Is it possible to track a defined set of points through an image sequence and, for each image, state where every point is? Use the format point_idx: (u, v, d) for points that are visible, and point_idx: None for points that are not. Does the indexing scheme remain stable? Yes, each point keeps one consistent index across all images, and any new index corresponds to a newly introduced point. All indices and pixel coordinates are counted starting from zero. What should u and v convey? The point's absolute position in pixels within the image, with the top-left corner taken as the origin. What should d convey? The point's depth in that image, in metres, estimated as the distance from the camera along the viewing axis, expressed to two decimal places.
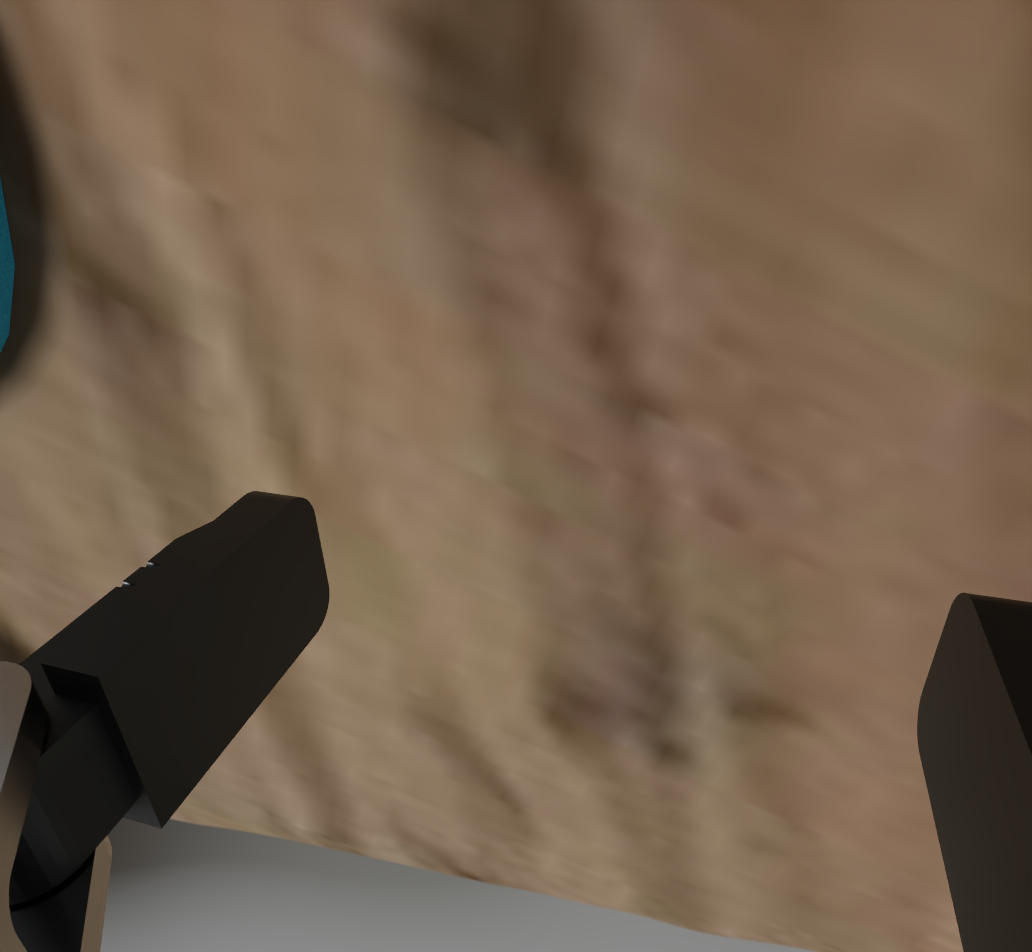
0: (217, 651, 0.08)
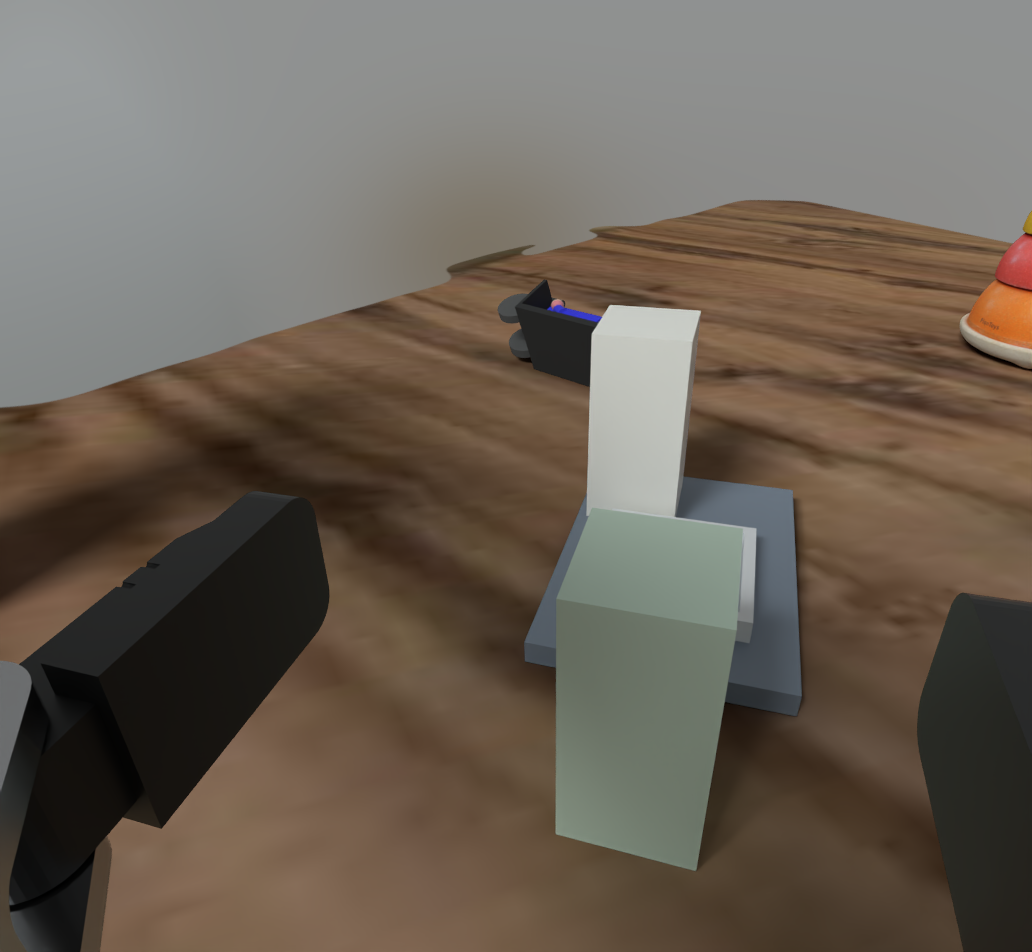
0: (217, 651, 0.08)
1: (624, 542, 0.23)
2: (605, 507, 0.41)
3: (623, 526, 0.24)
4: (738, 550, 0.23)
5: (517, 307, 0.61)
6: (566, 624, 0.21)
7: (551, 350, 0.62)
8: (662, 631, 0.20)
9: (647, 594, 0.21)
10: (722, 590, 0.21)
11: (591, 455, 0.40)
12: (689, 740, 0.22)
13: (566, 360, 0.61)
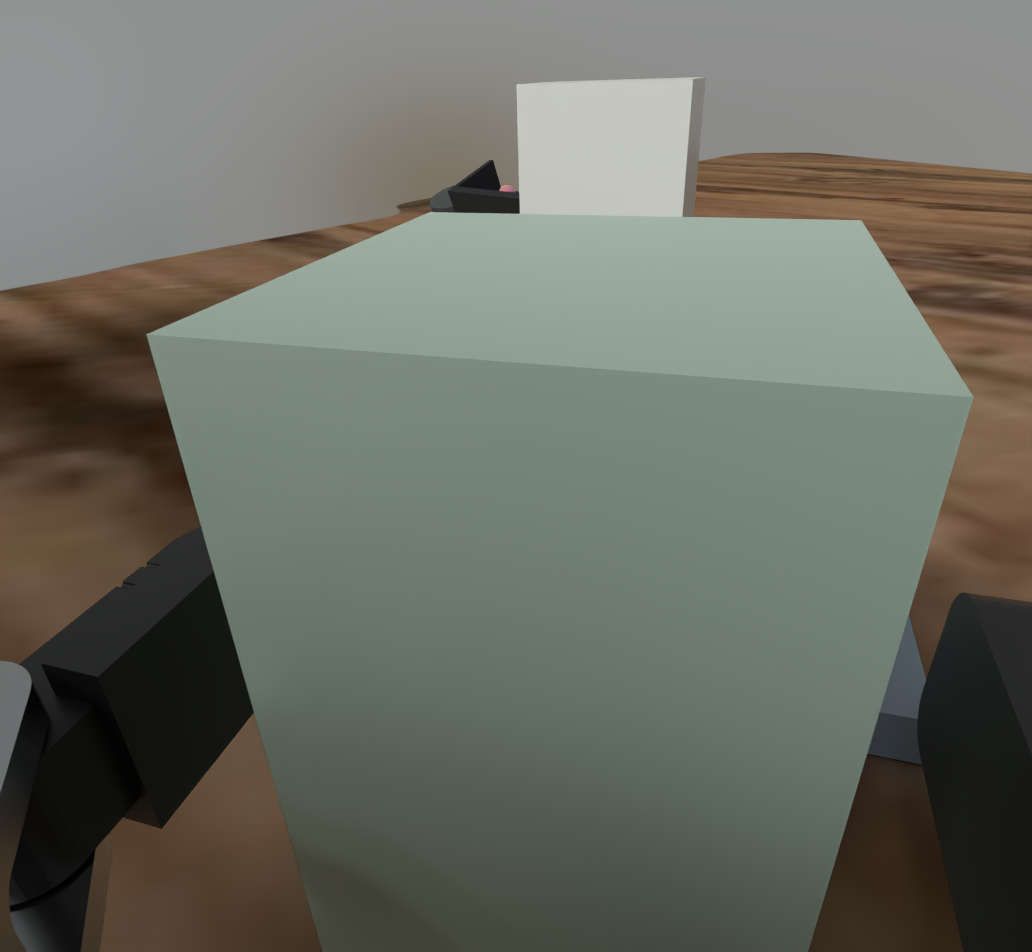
0: (217, 651, 0.08)
1: (494, 243, 0.07)
2: None
3: (502, 227, 0.08)
4: (865, 244, 0.07)
5: (450, 191, 0.45)
6: (215, 457, 0.05)
7: None
8: (587, 449, 0.04)
9: (531, 316, 0.05)
10: (841, 303, 0.05)
11: None
12: (710, 901, 0.06)
13: None
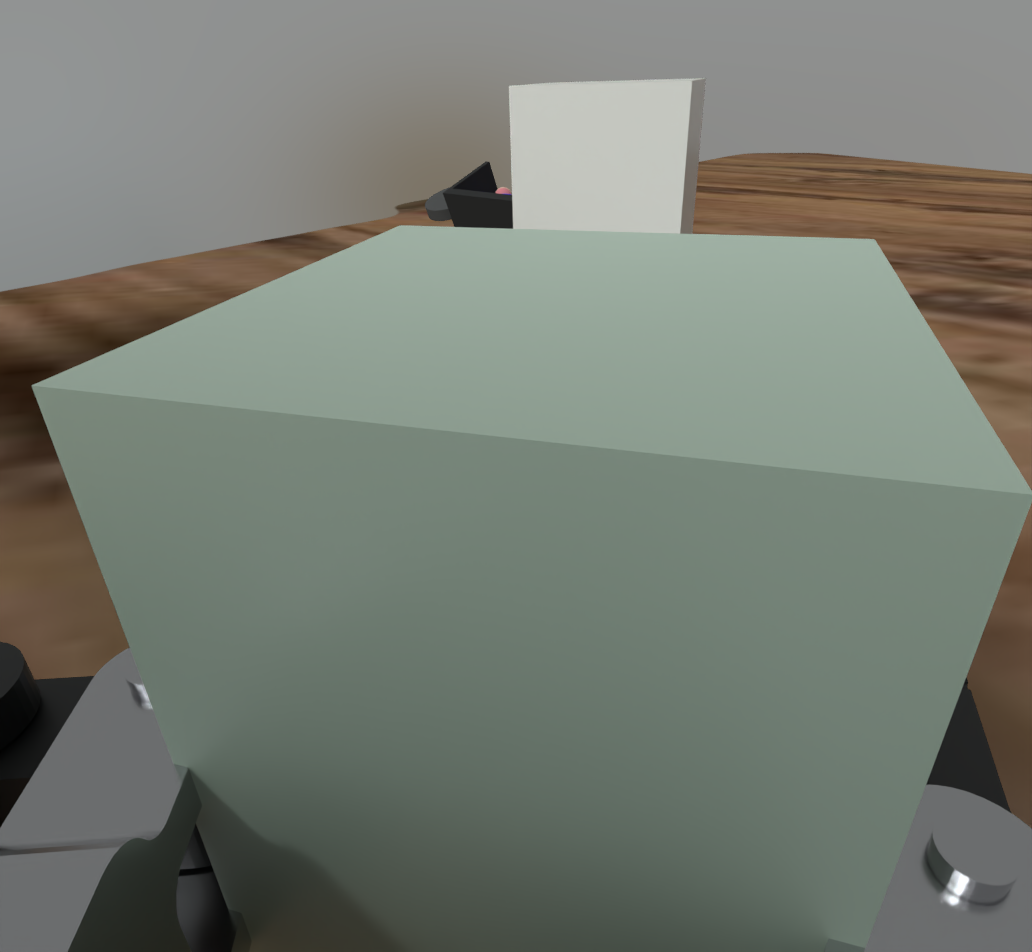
0: None
1: (463, 266, 0.06)
2: None
3: (476, 244, 0.07)
4: (881, 269, 0.06)
5: (446, 193, 0.44)
6: (121, 525, 0.04)
7: None
8: (550, 536, 0.04)
9: (491, 366, 0.04)
10: (858, 351, 0.04)
11: None
12: None
13: None
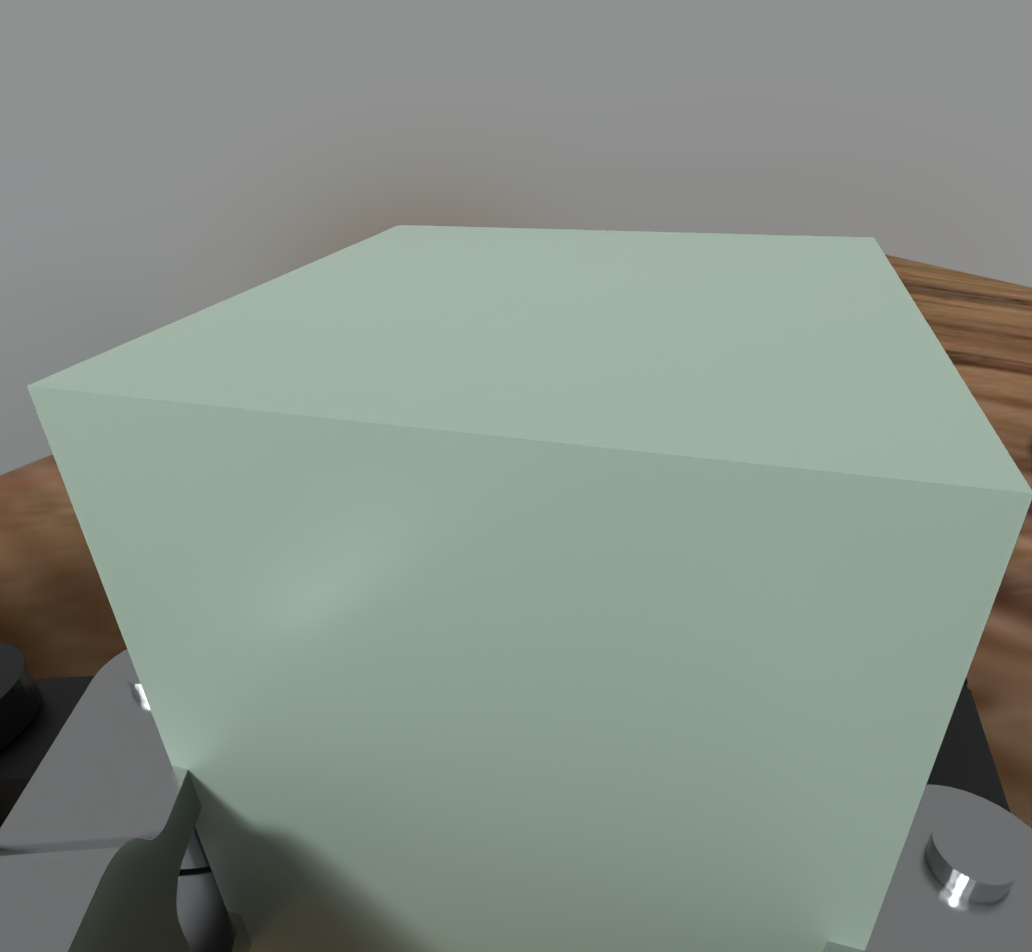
0: None
1: (462, 265, 0.06)
2: None
3: (475, 244, 0.07)
4: (881, 267, 0.06)
5: None
6: (118, 526, 0.04)
7: None
8: (548, 536, 0.04)
9: (488, 365, 0.04)
10: (857, 348, 0.04)
11: None
12: None
13: None
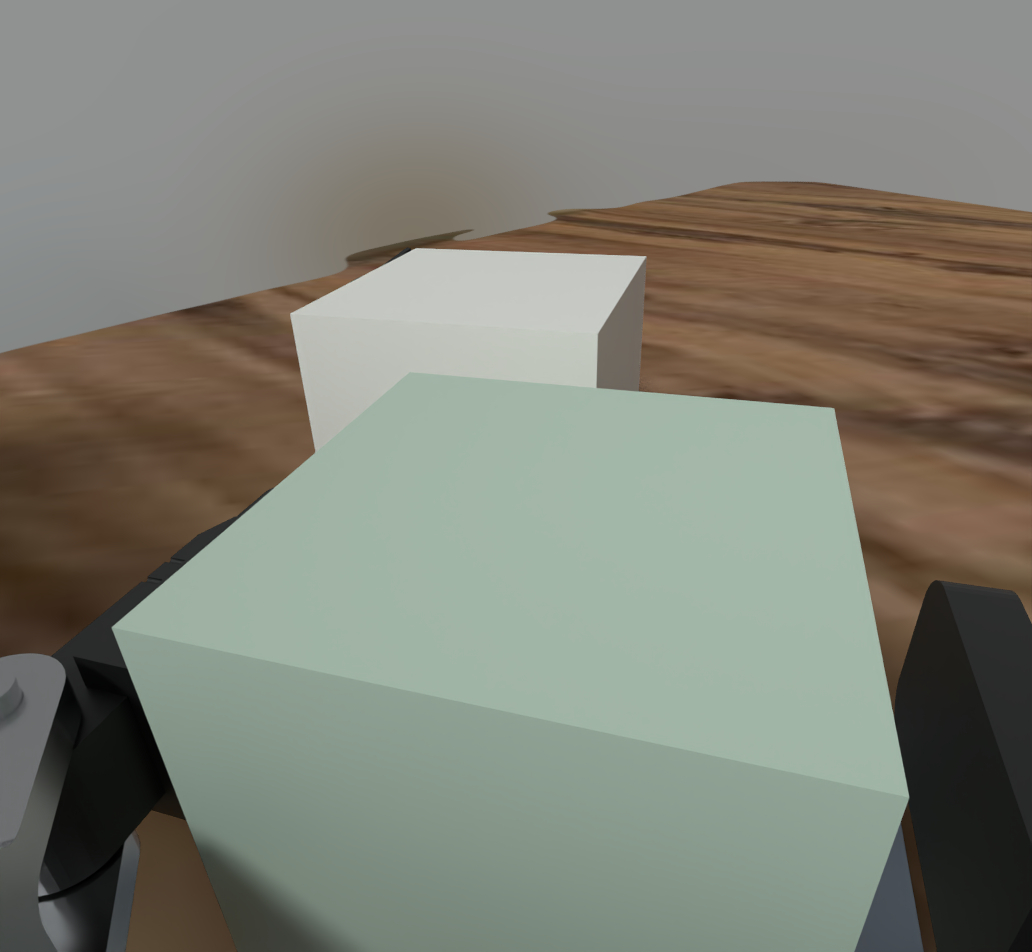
0: None
1: (466, 443, 0.07)
2: None
3: (478, 408, 0.08)
4: (833, 460, 0.07)
5: None
6: (182, 728, 0.05)
7: None
8: (540, 778, 0.04)
9: (491, 607, 0.05)
10: (798, 590, 0.05)
11: None
12: None
13: None
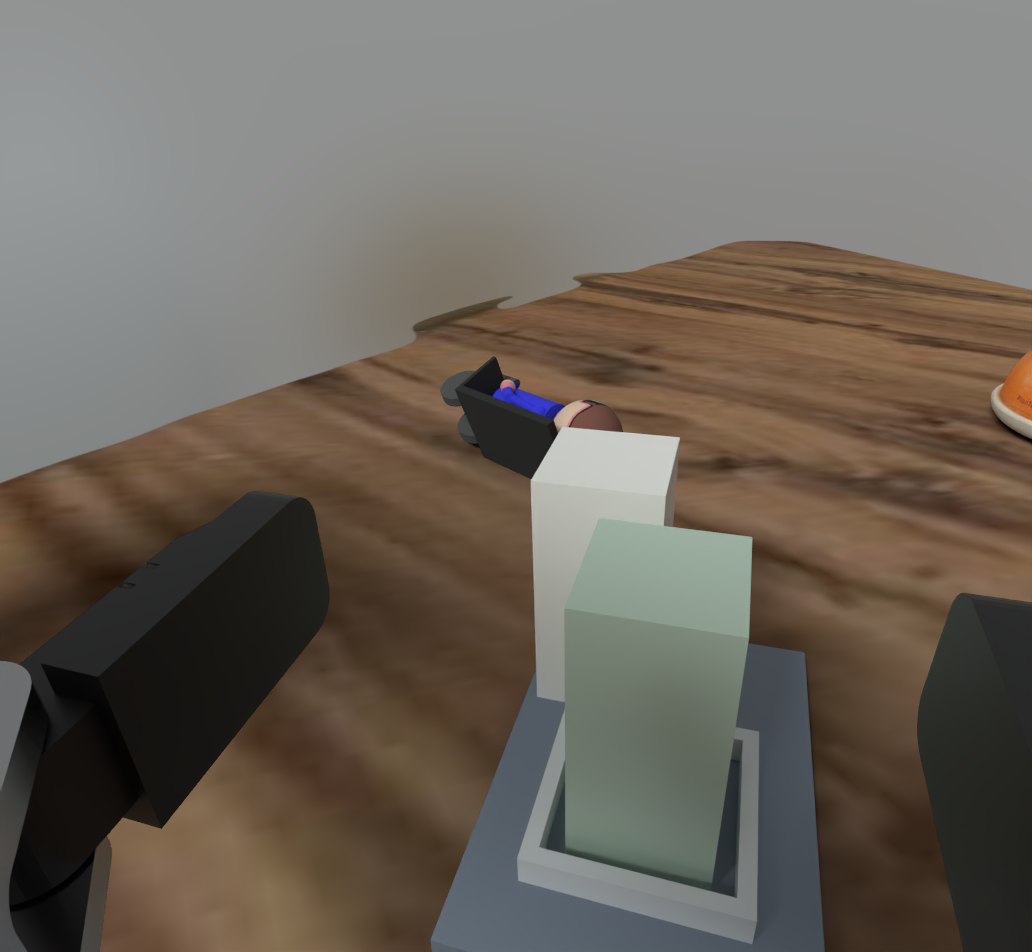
0: (217, 651, 0.08)
1: (632, 551, 0.23)
2: (560, 688, 0.32)
3: (631, 536, 0.24)
4: (748, 558, 0.22)
5: (457, 390, 0.52)
6: (574, 634, 0.21)
7: (497, 440, 0.53)
8: (672, 640, 0.20)
9: (656, 602, 0.21)
10: (732, 598, 0.21)
11: (539, 627, 0.30)
12: (702, 753, 0.22)
13: (514, 452, 0.52)
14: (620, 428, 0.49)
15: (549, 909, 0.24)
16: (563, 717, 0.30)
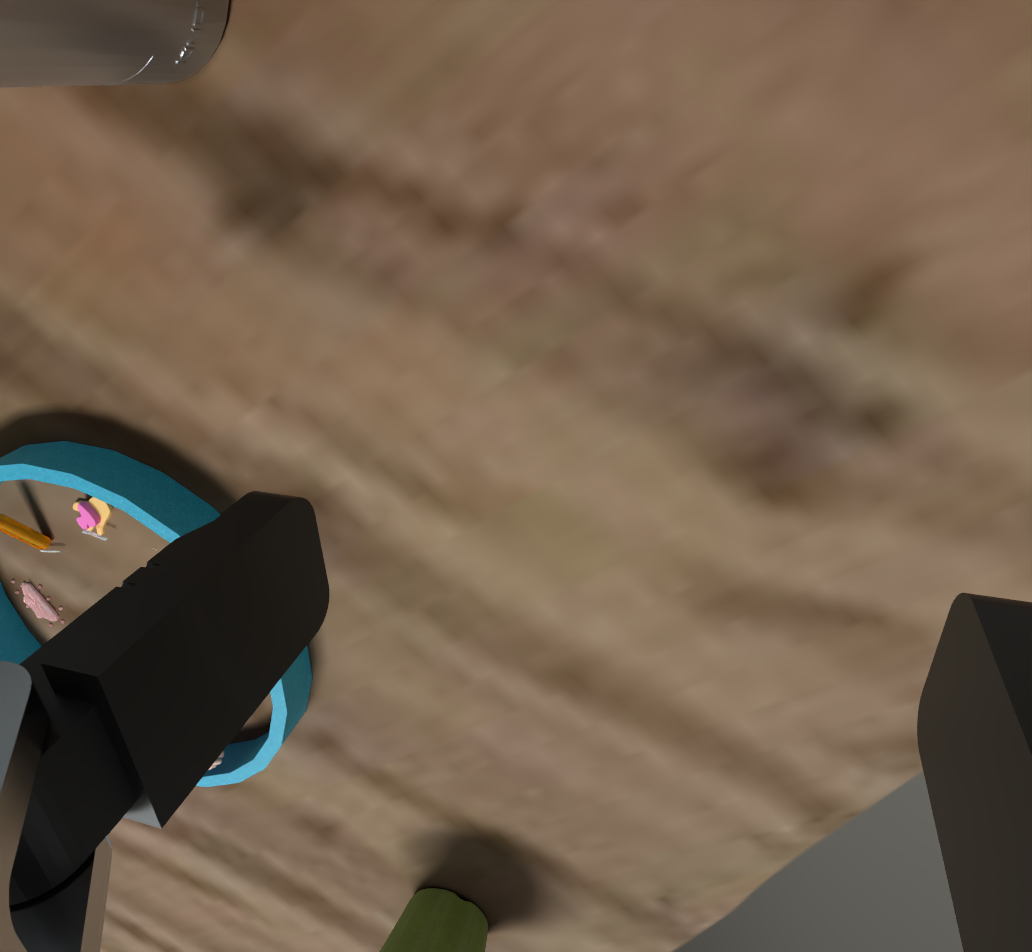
0: (217, 651, 0.08)
1: None
2: None
3: None
4: None
5: None
6: None
7: None
8: None
9: None
10: None
11: None
12: None
13: None
14: None
15: None
16: None
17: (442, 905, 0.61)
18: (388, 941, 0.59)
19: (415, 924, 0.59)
